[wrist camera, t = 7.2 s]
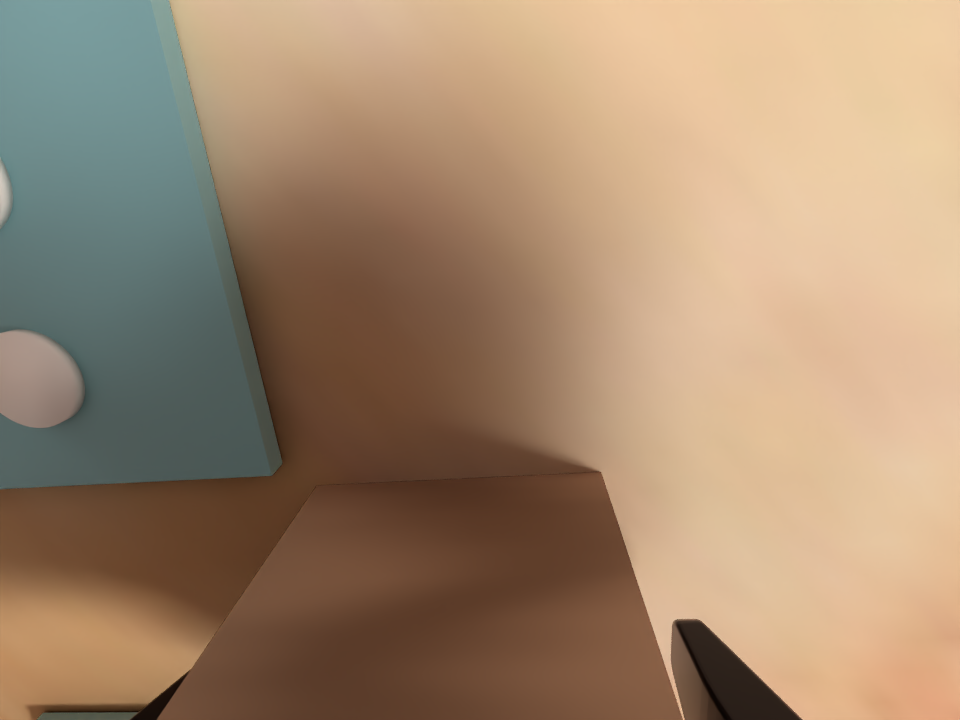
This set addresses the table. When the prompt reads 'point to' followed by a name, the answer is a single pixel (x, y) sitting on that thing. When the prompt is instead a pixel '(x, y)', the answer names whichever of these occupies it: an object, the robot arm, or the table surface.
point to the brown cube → (439, 611)
